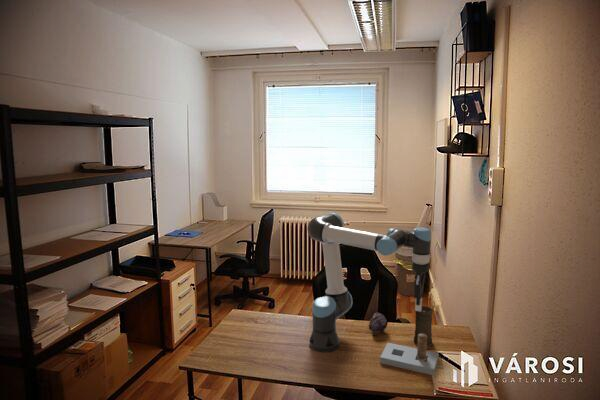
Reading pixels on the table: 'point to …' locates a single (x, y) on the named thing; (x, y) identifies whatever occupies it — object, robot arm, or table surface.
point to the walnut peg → (422, 347)
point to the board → (408, 359)
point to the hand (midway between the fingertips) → (418, 310)
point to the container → (424, 324)
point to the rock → (378, 323)
